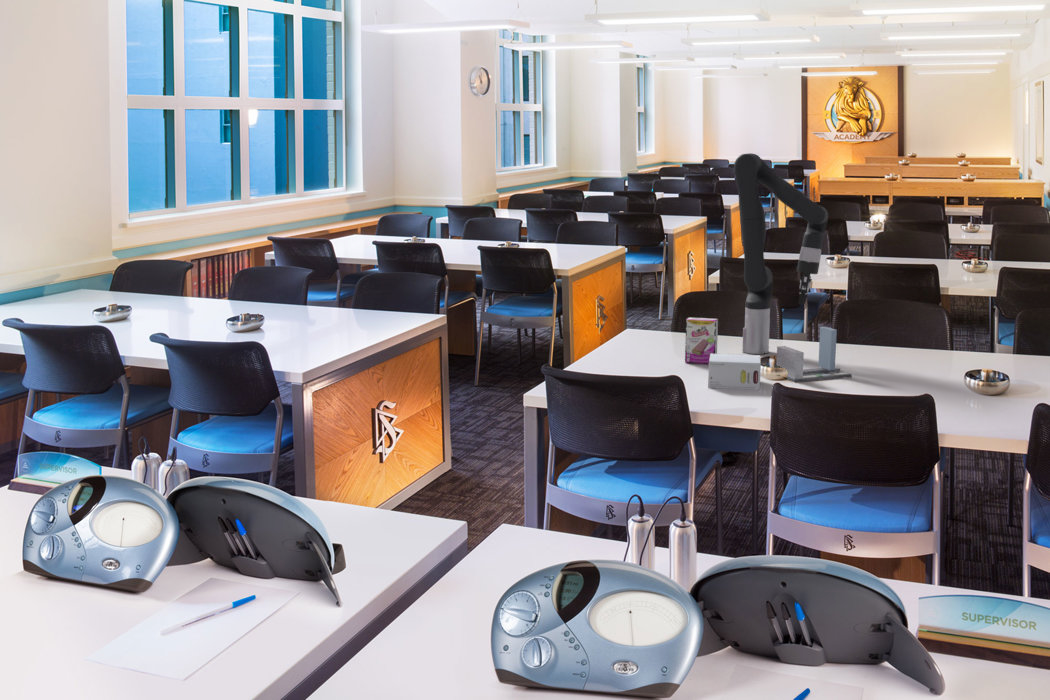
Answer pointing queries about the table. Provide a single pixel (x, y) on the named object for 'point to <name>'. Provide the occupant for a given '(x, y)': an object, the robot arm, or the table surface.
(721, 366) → the supplement box
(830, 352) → the light blue flat block
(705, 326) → the candy bar box
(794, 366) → the grey bookend stand
